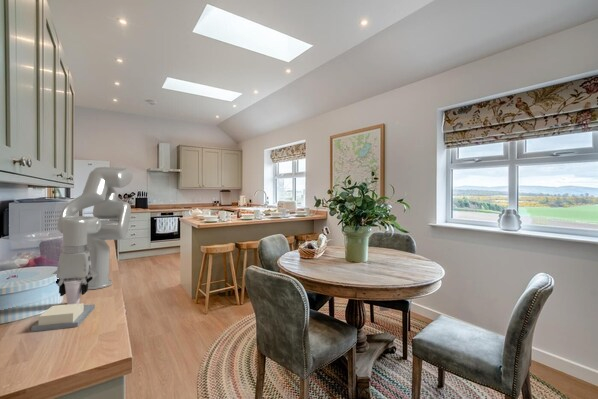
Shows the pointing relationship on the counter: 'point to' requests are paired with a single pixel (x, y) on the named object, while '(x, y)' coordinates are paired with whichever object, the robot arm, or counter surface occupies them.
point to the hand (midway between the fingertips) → (73, 293)
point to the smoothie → (73, 290)
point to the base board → (65, 325)
